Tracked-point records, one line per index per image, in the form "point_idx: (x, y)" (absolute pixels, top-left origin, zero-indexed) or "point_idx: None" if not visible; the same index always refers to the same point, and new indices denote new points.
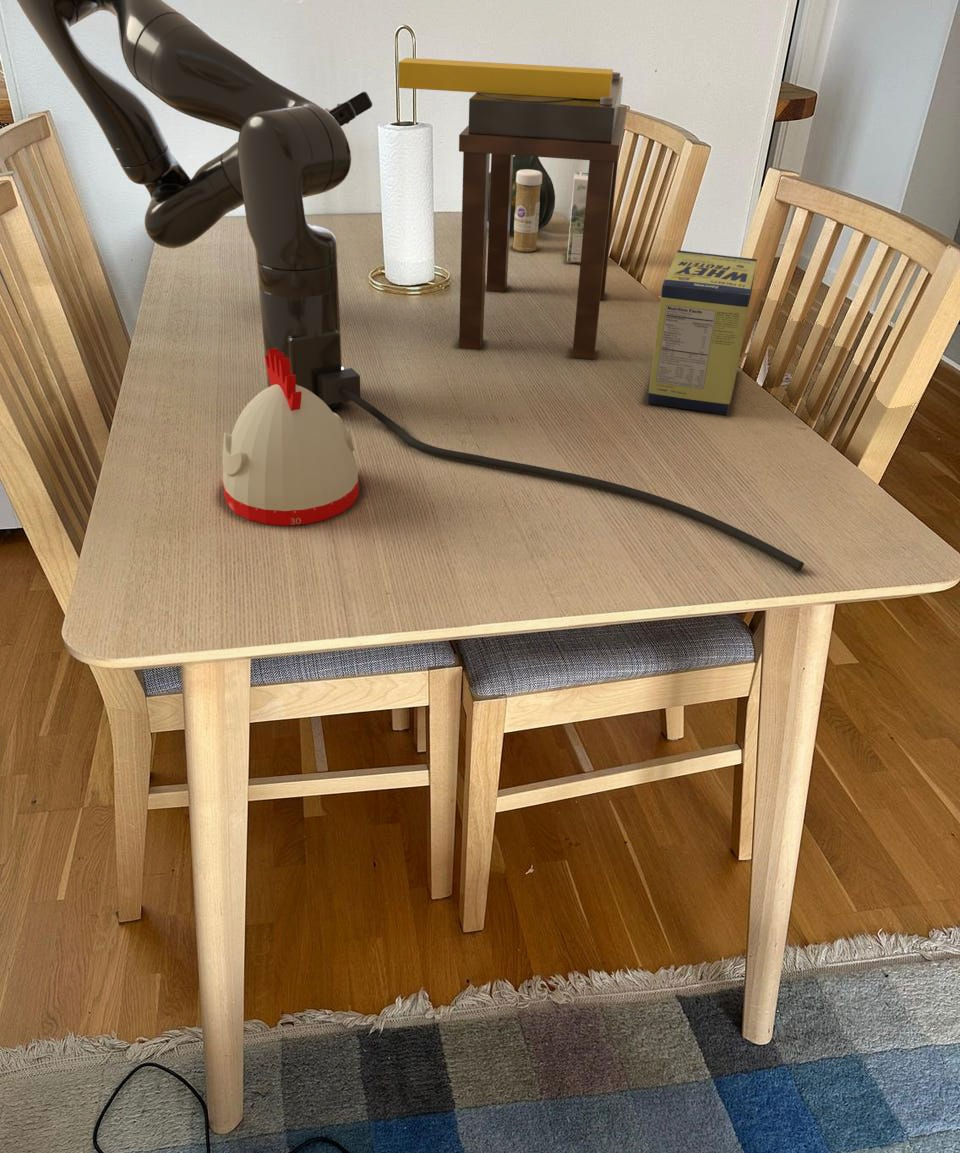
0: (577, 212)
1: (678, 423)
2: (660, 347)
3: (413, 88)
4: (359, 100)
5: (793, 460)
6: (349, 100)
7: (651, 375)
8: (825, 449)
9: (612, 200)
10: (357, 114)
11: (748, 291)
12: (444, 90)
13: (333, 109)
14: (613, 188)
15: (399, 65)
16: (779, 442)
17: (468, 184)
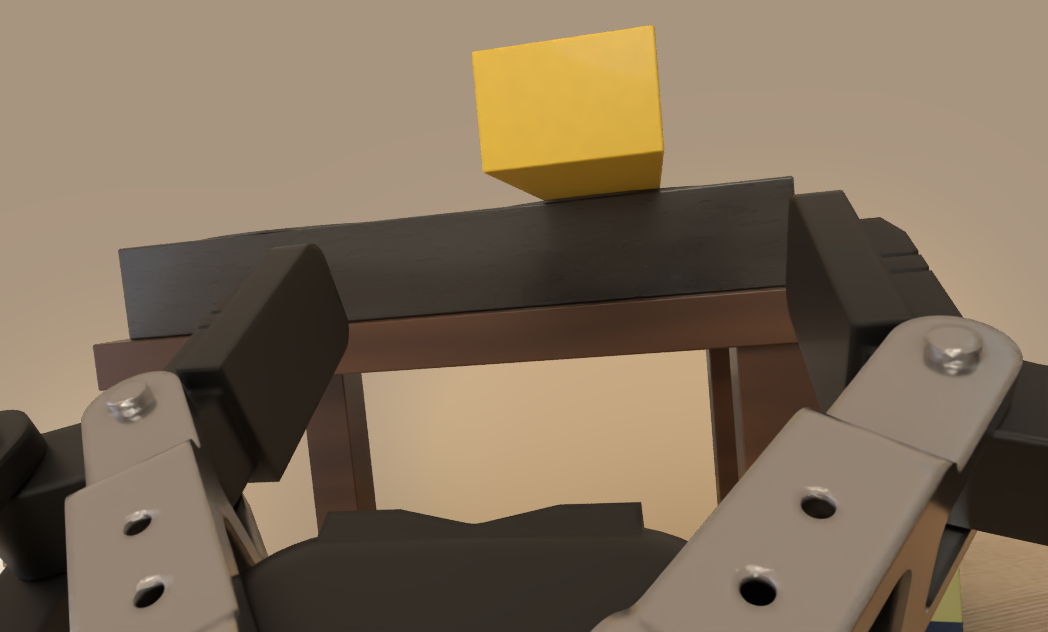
0: None
1: (1011, 616)
2: None
3: (662, 160)
4: (302, 306)
5: (1029, 545)
6: (257, 319)
7: (960, 590)
8: None
9: (373, 486)
10: (306, 416)
11: None
12: (660, 176)
13: (879, 254)
14: (370, 461)
15: (654, 42)
16: (981, 551)
17: None
